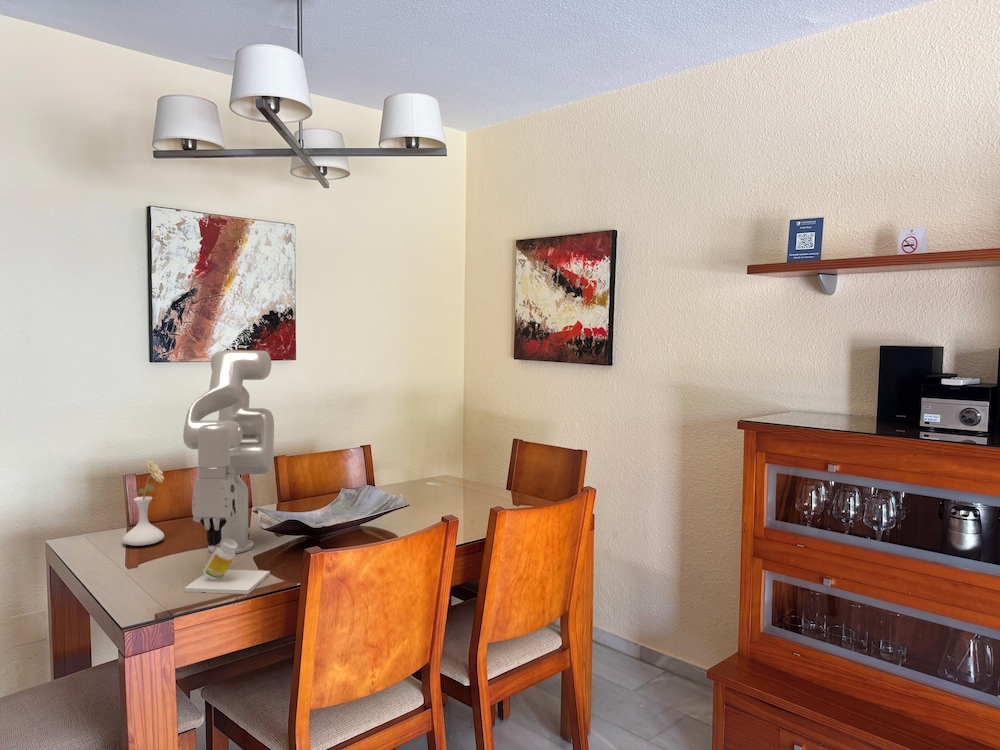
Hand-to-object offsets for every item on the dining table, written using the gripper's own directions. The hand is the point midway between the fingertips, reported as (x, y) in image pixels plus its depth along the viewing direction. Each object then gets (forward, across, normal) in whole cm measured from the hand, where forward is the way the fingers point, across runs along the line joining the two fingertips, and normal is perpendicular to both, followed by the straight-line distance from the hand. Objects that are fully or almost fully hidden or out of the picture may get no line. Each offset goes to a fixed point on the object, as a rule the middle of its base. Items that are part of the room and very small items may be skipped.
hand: (214, 544), depth 175 cm
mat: (+10, -3, -1) cm, 11 cm away
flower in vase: (+10, +37, -32) cm, 50 cm away
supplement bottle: (+8, +1, -1) cm, 8 cm away
